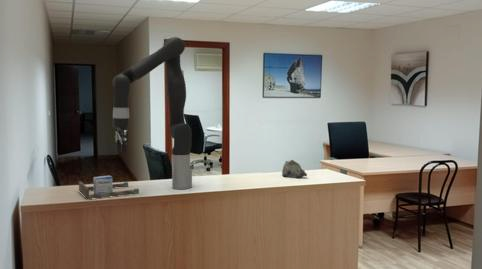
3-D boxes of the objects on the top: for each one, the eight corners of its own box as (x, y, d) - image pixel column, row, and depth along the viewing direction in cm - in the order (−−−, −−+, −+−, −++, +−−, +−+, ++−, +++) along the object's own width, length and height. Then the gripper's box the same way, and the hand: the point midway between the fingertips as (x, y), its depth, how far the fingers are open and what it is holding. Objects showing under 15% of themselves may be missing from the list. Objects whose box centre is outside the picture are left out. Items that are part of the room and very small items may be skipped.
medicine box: (96, 196, 208) (96, 178, 208) (93, 194, 212) (92, 176, 211) (113, 194, 213) (112, 176, 212) (109, 192, 217) (109, 174, 216)
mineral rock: (308, 178, 251) (308, 161, 250) (291, 180, 246) (291, 162, 245) (295, 174, 262) (295, 158, 261) (279, 176, 258) (280, 159, 257)
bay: (127, 186, 230) (127, 176, 230) (138, 193, 213) (138, 183, 213) (79, 191, 218) (78, 181, 218) (87, 199, 201) (86, 189, 201)
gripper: (133, 117, 207) (133, 152, 209) (124, 116, 220) (124, 149, 221) (117, 118, 204) (117, 153, 205) (109, 116, 216) (109, 149, 217)
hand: (121, 151), depth 213 cm, fingers open, 8 cm apart
